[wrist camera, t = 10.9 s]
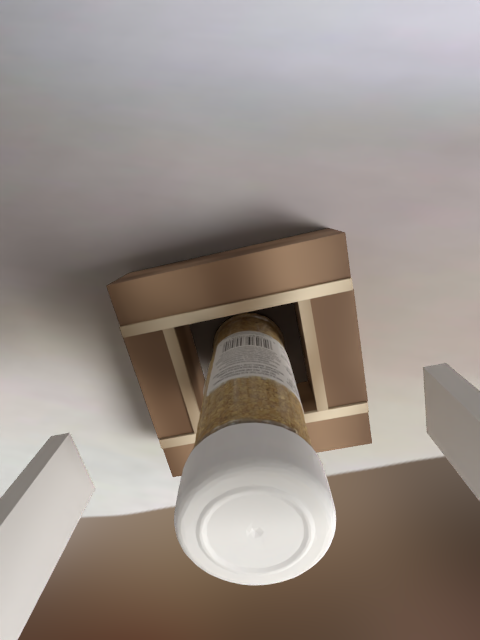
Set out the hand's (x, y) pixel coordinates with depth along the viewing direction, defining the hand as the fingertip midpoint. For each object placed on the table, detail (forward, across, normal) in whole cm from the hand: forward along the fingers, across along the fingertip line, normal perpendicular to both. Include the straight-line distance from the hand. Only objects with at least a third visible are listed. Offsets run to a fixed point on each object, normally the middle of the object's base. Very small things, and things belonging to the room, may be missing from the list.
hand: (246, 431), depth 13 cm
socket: (+10, 0, -1) cm, 10 cm away
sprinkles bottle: (+10, 0, -1) cm, 10 cm away
